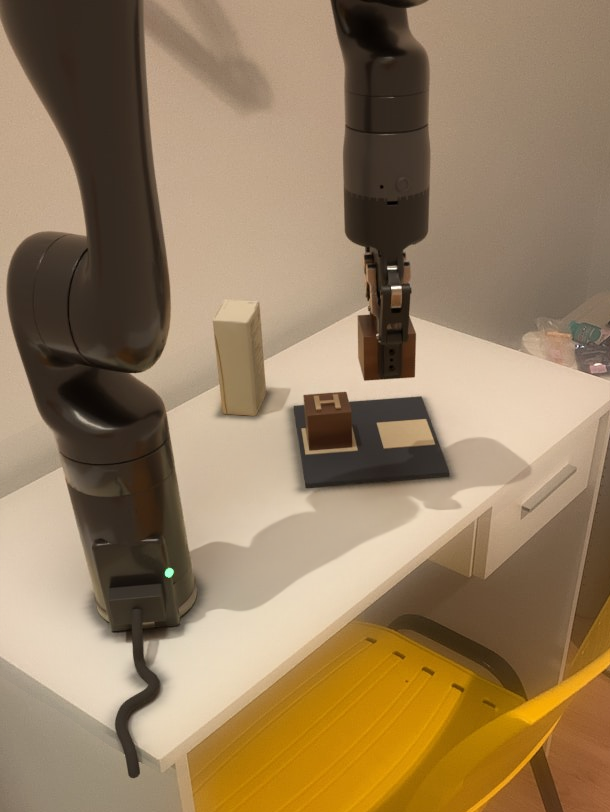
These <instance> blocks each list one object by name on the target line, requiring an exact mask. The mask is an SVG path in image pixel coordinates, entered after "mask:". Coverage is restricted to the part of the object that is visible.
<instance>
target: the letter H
mask: <svg viewBox="0 0 610 812" xmlns="http://www.w3.org/2000/svg"><path fill="white" fill-rule="evenodd" d="M349 402H350V401H349V395H348V392H347V391H337V392H336V391H335V392H323V393H308V394H303V405H304V413H305V429H306V435H307V441H308V446H309V450H310V451H311V450H323V449H336V448H348V447H352V412H351V408H350V404H349Z"/></svg>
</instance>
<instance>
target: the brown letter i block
mask: <svg viewBox="0 0 610 812" xmlns="http://www.w3.org/2000/svg"><path fill="white" fill-rule="evenodd" d="M393 328H398V323H395V324H389V325H387V329H393ZM416 332H417V331H416V330H415V327H414V325H413V322H412V319H411V316H410V315H409V326H408V334H409V339H408V342H407V343H402V375H401V377H399V378H396V379H410V378H411V379H413V378H415V377H416V352H417V333H416ZM376 334H377V319H376V317H375V316H373V315H372V314H358V315H357V356H358V357H357V359H358V362H359V366H360V370H361V375H362V379H363V381H364V382H366V381H367V382H368V381H381V380H385V379H381V378H380V377H379V373H378V339H376ZM396 379H395V380H396Z"/></svg>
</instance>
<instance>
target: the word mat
mask: <svg viewBox="0 0 610 812" xmlns="http://www.w3.org/2000/svg"><path fill="white" fill-rule="evenodd" d="M349 404H350V408H351V412H352V447H348V448H336V449H323V450H311V451H310V450H309V446H308V441H307V435H306V429H305V413H304V404H300V405H299V404H298V405H293V413H294V420H295V427H296V432H297V440H298V447H299V453H300V459H301V466H302V472H303V478H304V485H305V488H306V489H310V488H320V487H321V488H322V487H335V486H348V485H359V484H370V483H373V484H374V483H384V482H385V483H386V482H396V481H409V480H421V479H433V478H445V477H450V470H449V469H450V468H449V466H448V463H447V462H446V459H445V456H444V453H443V451H442V447H441V444H440V442H439V440H438V437H437V434H436V431H435V429H434V425H433V423H432V420H431V418H430V415H429V413H428V410H427V407H426V404H425V403H424V400H423V397H422V396H407V397H395V398H382V399H381V398H378V399H367V400H354V401H353V400H351V401H349Z"/></svg>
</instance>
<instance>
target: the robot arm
mask: <svg viewBox="0 0 610 812" xmlns="http://www.w3.org/2000/svg"><path fill="white" fill-rule="evenodd" d="M329 1H330V7H331V12H332V16H333V20H334V27H335V32H336V33H335V34H336V36H337V41H338V45H339V48H340V52H341V57H342V61H343V62H342V63H343V66H344V67H343V69H344V75H343V76H344V79H343V90H344V91H343V94H344V95H343V97H344V101H343V102H344V137H343V144H342V145H343V146H342V175H343V179H342V180H343V217H344V218H343V220H344V234H345V236H346V238H347V239H348V240H349V241H350V242H351V243H353V244H355V245H357V246H360V247H363V248H364V253H363V254H362V266H363V268H362V269H363V274H364V293H365V298H366V301H367V302H368V305H367V311H368V313H369V314H368V315H370V314H372V315H373V316H375V317H376V319H377V334H376V339H378V373H379V377H380V378H381V379H384V380H396V378H399V377H401V375H402V343H407V342H408V339H409V334H408V326H409V316H410V310H411V309H410V308H411V294H412V293H413V292H412V291H413V290H412V287H411V284H410V283H409V282H410V281H411V278H412V275H411V273H412V272H411V262H410V261H408V260H407V253H406V251H405V249H407V248H408V247H410V246H412V245H413V246H414V245H417V244H419V243H421V242H422V241H424V239H426V237H427V236H428V233H429V224H430V223H429V221H430V213H429V212H430V191H431V190H430V188H431V186H430V185H431V142H430V141H431V140H430V131H429V130H430V128H429V127H430V126H429V115H430V114H429V112H430V83H431V82H430V81H431V76H430V75H431V70H430V69H431V67H430V58H429V54H428V52H427V50H426V48H425V47H424V46H423V44H422V43H420V42H419V40H417V39H416V37H415V36H414V34H413V33H412V31H411V29H410V25H409V18H408V9H412V8H416V7H419V6H421V5H424V4H426V3H427V2H429V0H329ZM0 23H1V25H2V28H3V31H4V34H5V36H6V38H7V40H8V41H7V42H8V43H9V45H10V47H11V49H12V51H13V53H14V56H15V57H16V59H17V61H18V63H19V65H20V67H21V69H22V70H23V72H24V75H25V76H26V79H27V80H28V82H29V83H30V85H31V87H32V89H33V90H34V92H35V94H36V95H37V98H38V99H39V101H40V102H41V104H42V106H43V107H44V109H45V112H46V113H47V114H48V116H49V118H50V120H51V121H52V123H53V125H54V127H55V129H56V131H57V133H58V135H59V137H60V138H61V141H62V143H63V145H64V147H65V149H66V151H67V154H68V157H69V159H70V161H71V164H72V167H73V171H74V173H75V176H76V177H75V178H76V181H77V185H78V190H79V194H80V200H81V206H82V210H83V219H84V225H85V226H84V227H85V234H86V235H85V234H84V235H83V234H76V233H70V232H63V231H54V230H44V231H43V230H42V231H37V232H36V233H33V234H31V235H28V236H27V237H25V238H24V239H23V240H22V241H21V242H20V243H19V244H18V246H17V247H16V248H15V250H14V252H13V254H12V256H11V259H10V261H9V265H8V268H7V274H6V282H5V283H6V285H5V286H6V289H5V295H6V305H7V312H8V319H9V323H10V327H11V330H12V335H13V337H14V341H15V344H16V348H17V351H18V353H19V357H20V360H21V363H22V366H23V369H24V373H25V375H26V378H27V381H28V384H29V387H30V391H31V394H32V398H33V400H34V403H35V406H36V409H37V411H38V413H39V415H40V417H41V420H43V422H44V423H45V425H46V426H47V427H48V429H49V430H50V431H51V433H52V434H53V436H54V440H55V443H56V447H57V451H58V456H59V460H60V463H61V468H62V471H63V475H64V480H65V484H66V487H67V491H68V496H69V499H70V503H71V507H72V511H73V515H74V519H75V523H76V526H77V531H78V534H79V538H80V542H81V547H82V551H83V555H84V559H85V562H86V567H87V570H88V574H89V577H90V580H91V584H92V585H91V586H92V588H93V592H94V601H95V605H96V609H97V611H98V614H99V615H100V616H101V617H102V619H104V620H105V621H106V622H108V623H109V627H110V631H112V632H119V631H129V630H131V641H132V643H131V644H132V659H133V665H134V667H135V670H136V672H137V674H138V676H140V677H141V678H142V679H143V680H144V681H146V682H147V684H148V685H147V686H146V687H145V689H143V690H141V691H140V692H138V693H136V694H135V695H133V696H131V697H129V698H127V700H125V701H124V702H123V703H122V704H121V705H120V707H118V710H117V713H116V716H115V719H114V729H115V733H116V735H117V737H118V739H119V742H120V744H121V747H122V749H123V753H124V758H125V763H126V769H127V775H128V777H129V778H130V779H136V778H139V776H140V774H141V767H140V761H139V757H138V752H137V748H136V745H135V742H134V740H133V738H132V735H131V733H130V731H129V728H128V718H129V715H130V713H131V712H133V710H135V709H136V708H137V707H139V706H141V705H143V704H145V703H146V702H148V701H150V700H151V699H152V698H153V697H154V696H155V695H156V694H157V693H158V691H159V689H160V684H161V683H160V679H159V677H158V675H157V674H156V673H155V672H154V671H152V670H151V669H150V668H149V667H148V666H147V664H146V661H145V652H144V631H143V629H151V628H152V629H153V628H163V627H173V626H179V624H180V619H181V617H182V616H183V615H185V614H186V613H187V612H188V611H189V610H190V609H191V608H192V606H193V605H194V603H195V602H196V599H197V594H198V588H197V582H196V578H195V576H194V572H193V565H192V558H191V553H190V549H189V548H190V547H189V542H188V535H187V529H186V524H185V518H184V513H183V505H182V501H181V500H182V499H181V494H180V489H179V488H180V487H179V483H178V475H177V470H176V465H175V457H174V451H173V445H172V439H171V438H172V437H171V433H170V424H169V418H168V413H167V408H166V405H165V403H164V401H163V399H162V397H161V396H160V394H158V392H156V390H155V389H153V388H152V387H150V386H149V385H148V384H146V383H145V382H143V381H141V380H140V379H138V378H137V377H136V376H134V374H140V373H143V372H146V371H148V370H150V369H152V368H153V367H154V366H155V364H156V363H157V362H158V361H159V359H160V358H161V357H162V354H163V352H164V350H165V347H166V345H167V341H168V338H169V333H170V328H171V327H170V326H171V319H172V318H171V317H172V296H171V295H172V294H171V281H170V280H171V278H170V269H169V262H168V254H167V247H166V240H165V233H164V226H163V218H162V211H161V205H160V198H159V192H158V185H157V178H156V177H157V176H156V170H155V161H154V152H153V141H152V132H151V131H152V130H151V119H150V117H151V116H150V106H149V104H150V103H149V91H148V90H149V89H148V77H147V74H148V73H147V60H146V59H147V58H146V33H145V32H146V31H145V1H144V0H0ZM395 323H398V328H393V329H387V325H389V324H395ZM399 379H400V378H399Z"/></svg>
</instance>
